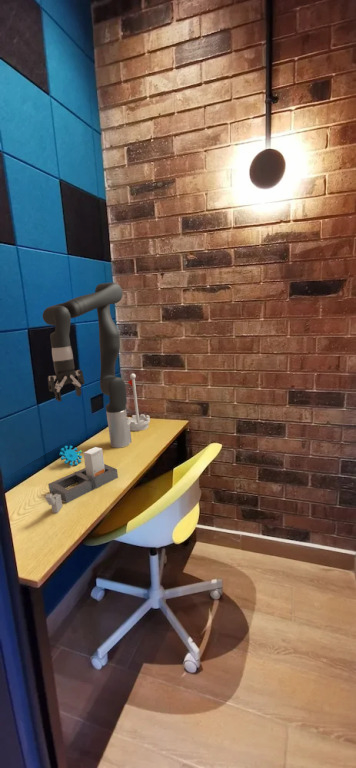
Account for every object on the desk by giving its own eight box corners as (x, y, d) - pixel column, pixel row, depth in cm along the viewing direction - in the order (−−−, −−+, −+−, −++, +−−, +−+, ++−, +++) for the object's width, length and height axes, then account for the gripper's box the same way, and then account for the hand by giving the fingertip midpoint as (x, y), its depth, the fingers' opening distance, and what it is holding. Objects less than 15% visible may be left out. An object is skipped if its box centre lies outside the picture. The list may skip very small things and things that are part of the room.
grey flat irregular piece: (57, 506, 118) (54, 484, 117) (62, 505, 118) (59, 484, 116) (48, 518, 111) (44, 495, 110) (53, 518, 111) (49, 495, 110)
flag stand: (155, 425, 191) (150, 372, 185) (137, 433, 182) (131, 376, 176) (139, 422, 200) (133, 370, 194) (121, 429, 191) (115, 375, 184)
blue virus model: (67, 466, 144) (56, 447, 148) (61, 474, 147) (50, 455, 151) (88, 459, 153) (77, 441, 157) (82, 467, 156) (72, 449, 160)
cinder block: (100, 469, 143) (99, 461, 142) (118, 477, 135) (117, 469, 134) (49, 492, 128) (48, 483, 127) (66, 503, 120) (65, 493, 119)
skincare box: (94, 483, 132) (90, 454, 129) (87, 481, 134) (82, 452, 131) (106, 476, 136) (102, 448, 134) (98, 474, 139) (94, 446, 136)
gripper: (74, 355, 144) (79, 393, 148) (41, 361, 134) (48, 401, 138) (84, 356, 139) (89, 395, 143) (50, 361, 129) (57, 404, 133)
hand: (69, 398), depth 140 cm, fingers open, 8 cm apart
